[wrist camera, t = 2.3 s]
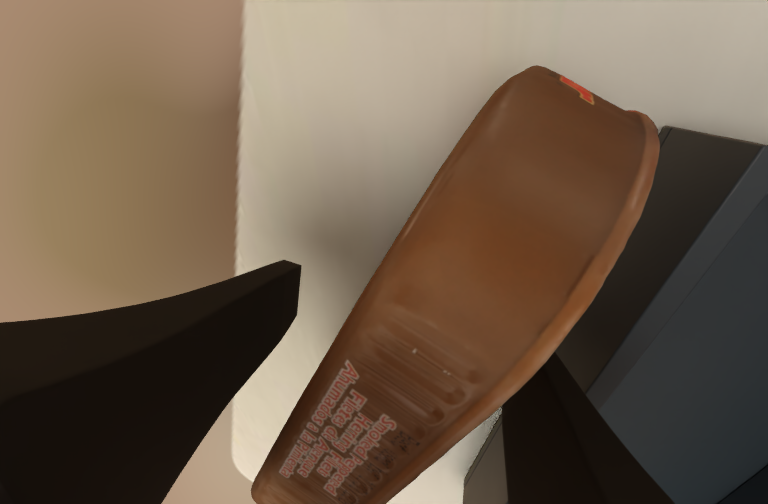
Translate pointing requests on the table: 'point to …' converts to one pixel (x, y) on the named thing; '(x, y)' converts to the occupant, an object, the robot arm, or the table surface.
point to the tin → (469, 291)
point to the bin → (680, 331)
